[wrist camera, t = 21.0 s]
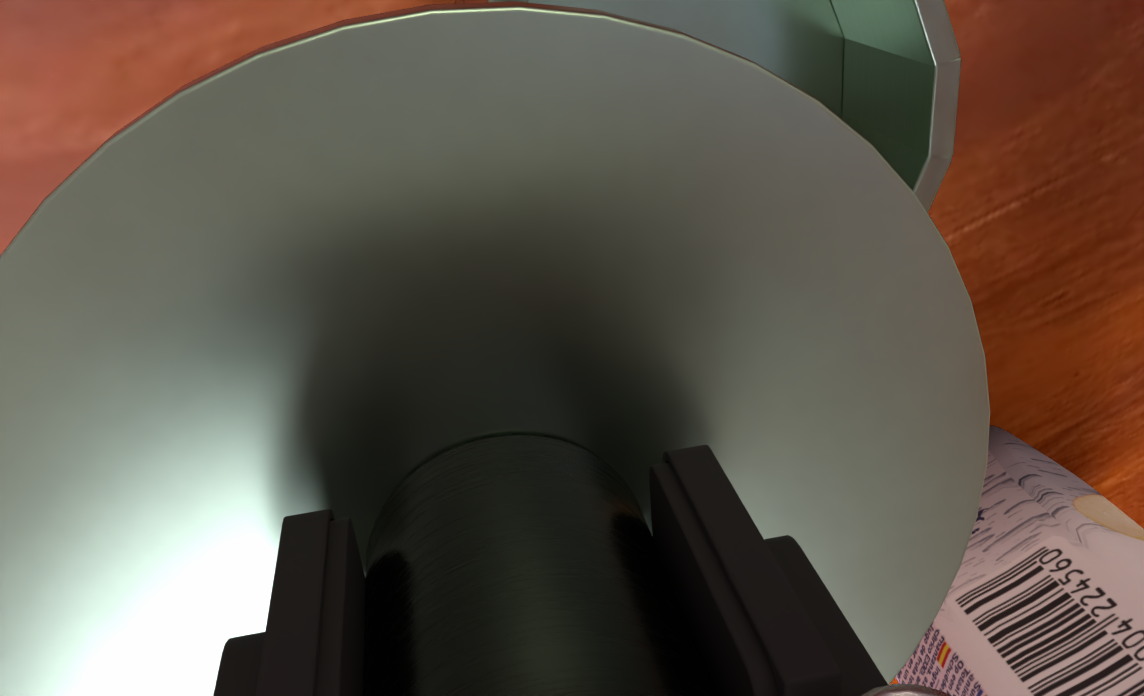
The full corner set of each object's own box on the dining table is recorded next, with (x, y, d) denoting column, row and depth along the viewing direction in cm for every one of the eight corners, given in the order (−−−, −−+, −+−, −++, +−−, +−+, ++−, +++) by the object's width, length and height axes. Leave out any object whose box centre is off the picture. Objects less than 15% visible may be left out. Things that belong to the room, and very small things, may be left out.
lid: (137, 915, 16) (-10, 1538, 10) (-244, 70, 10) (-1222, 353, 4) (914, 747, 17) (1190, 1192, 11) (998, -64, 11) (1670, -15, 5)
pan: (472, 330, 29) (491, 414, 25) (402, -117, 24) (410, -118, 19) (852, 266, 31) (938, 335, 26) (870, -167, 25) (982, -178, 21)
